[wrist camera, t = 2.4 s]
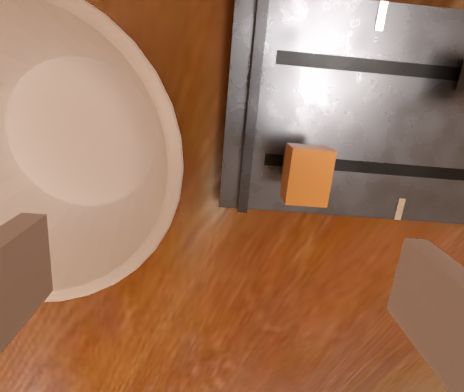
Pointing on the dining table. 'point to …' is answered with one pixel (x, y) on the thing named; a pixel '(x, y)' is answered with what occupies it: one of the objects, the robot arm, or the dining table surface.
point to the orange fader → (307, 174)
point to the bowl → (85, 141)
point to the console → (348, 105)
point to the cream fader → (461, 80)
